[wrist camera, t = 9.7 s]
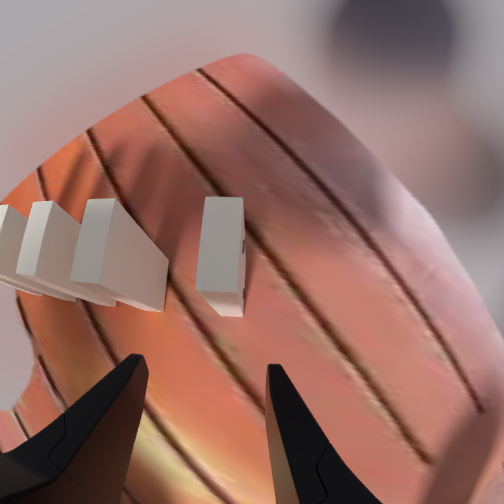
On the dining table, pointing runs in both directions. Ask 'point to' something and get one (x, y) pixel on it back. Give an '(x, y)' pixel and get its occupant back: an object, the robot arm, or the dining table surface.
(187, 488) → the dining table surface
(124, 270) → the domino
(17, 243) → the domino
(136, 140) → the dining table surface
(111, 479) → the robot arm
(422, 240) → the dining table surface
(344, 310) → the dining table surface
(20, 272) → the domino
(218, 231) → the domino
